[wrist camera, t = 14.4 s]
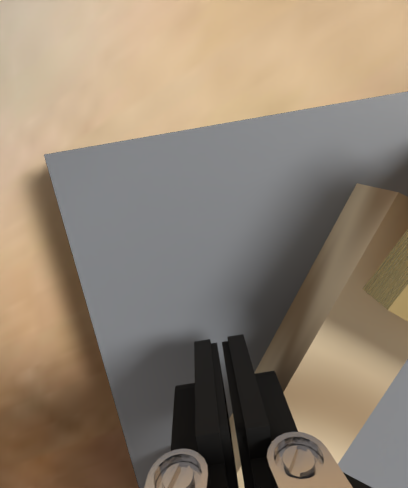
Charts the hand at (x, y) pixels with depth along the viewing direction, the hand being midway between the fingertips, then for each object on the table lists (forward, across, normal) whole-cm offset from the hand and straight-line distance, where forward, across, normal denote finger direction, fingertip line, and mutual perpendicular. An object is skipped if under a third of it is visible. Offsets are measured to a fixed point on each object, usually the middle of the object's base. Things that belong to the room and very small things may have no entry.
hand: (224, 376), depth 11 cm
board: (+4, -3, +2) cm, 5 cm away
